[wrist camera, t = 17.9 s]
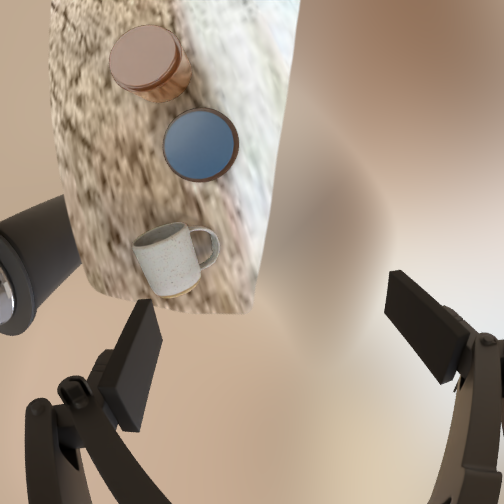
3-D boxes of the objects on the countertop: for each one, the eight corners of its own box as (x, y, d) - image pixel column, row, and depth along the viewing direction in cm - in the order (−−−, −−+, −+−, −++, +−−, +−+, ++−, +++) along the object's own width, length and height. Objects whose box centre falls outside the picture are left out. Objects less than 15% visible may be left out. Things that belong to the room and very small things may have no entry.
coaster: (152, 165, 38) (151, 165, 37) (182, 97, 35) (181, 96, 34) (219, 193, 40) (219, 194, 39) (251, 126, 37) (251, 125, 37)
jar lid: (209, 189, 39) (208, 191, 37) (155, 156, 37) (151, 156, 35) (246, 135, 37) (247, 134, 35) (191, 100, 35) (189, 98, 33)
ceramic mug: (160, 282, 44) (149, 308, 36) (139, 232, 41) (123, 251, 33) (227, 262, 43) (228, 286, 36) (209, 209, 40) (206, 223, 33)
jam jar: (124, 92, 34) (93, 79, 24) (150, 42, 31) (127, 15, 22) (175, 110, 35) (157, 99, 26) (202, 59, 33) (193, 32, 23)
